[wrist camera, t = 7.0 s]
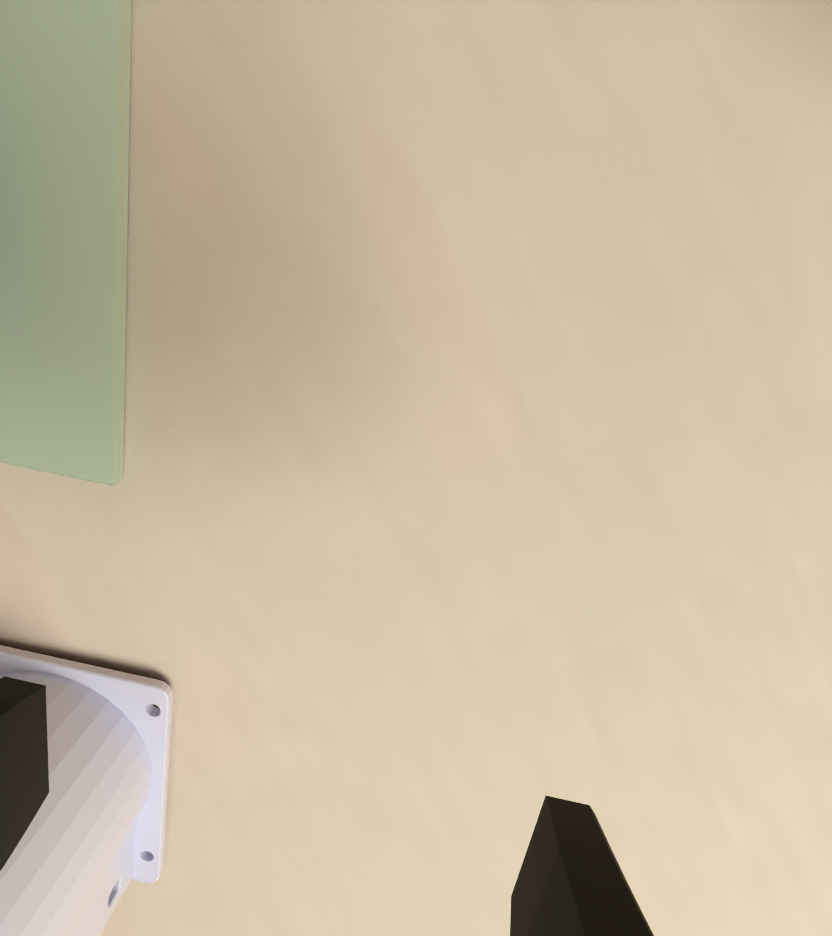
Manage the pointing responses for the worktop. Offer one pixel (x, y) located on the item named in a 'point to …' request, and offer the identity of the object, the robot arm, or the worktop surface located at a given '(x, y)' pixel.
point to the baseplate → (64, 234)
